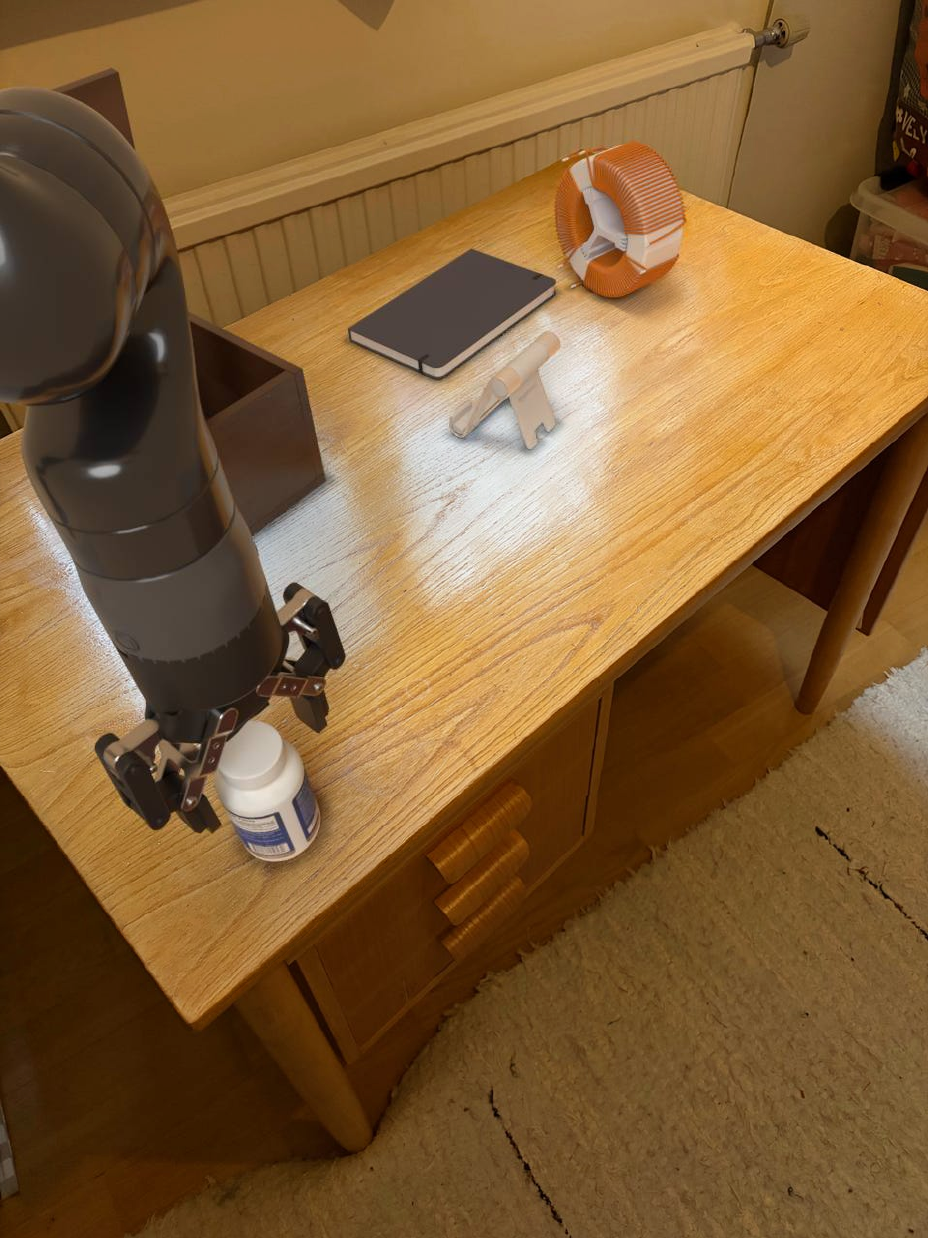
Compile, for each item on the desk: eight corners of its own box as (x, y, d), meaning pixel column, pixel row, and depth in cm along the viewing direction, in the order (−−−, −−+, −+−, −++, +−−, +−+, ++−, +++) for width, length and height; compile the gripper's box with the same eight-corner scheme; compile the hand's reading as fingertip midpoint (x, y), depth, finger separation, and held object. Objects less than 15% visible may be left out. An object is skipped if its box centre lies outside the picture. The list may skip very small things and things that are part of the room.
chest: (326, 480, 80) (303, 368, 71) (207, 568, 74) (165, 457, 65) (201, 409, 88) (165, 299, 79) (83, 482, 82) (30, 372, 72)
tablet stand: (499, 388, 89) (499, 313, 82) (566, 414, 85) (571, 338, 79) (449, 434, 84) (445, 358, 78) (518, 463, 81) (519, 386, 75)
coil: (588, 253, 105) (598, 120, 94) (679, 303, 97) (702, 164, 86) (544, 272, 103) (549, 138, 92) (634, 326, 95) (652, 186, 84)
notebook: (471, 260, 105) (349, 341, 95) (471, 247, 104) (347, 328, 94) (558, 292, 100) (438, 381, 90) (559, 279, 99) (437, 368, 88)
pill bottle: (288, 775, 61) (258, 694, 53) (338, 825, 58) (313, 747, 51) (224, 826, 58) (182, 749, 51) (272, 881, 56) (236, 807, 48)
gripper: (245, 477, 45) (303, 665, 58) (2, 649, 39) (127, 820, 51) (348, 539, 42) (387, 724, 55) (102, 738, 35) (209, 898, 48)
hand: (261, 770), depth 53 cm, fingers open, 8 cm apart
